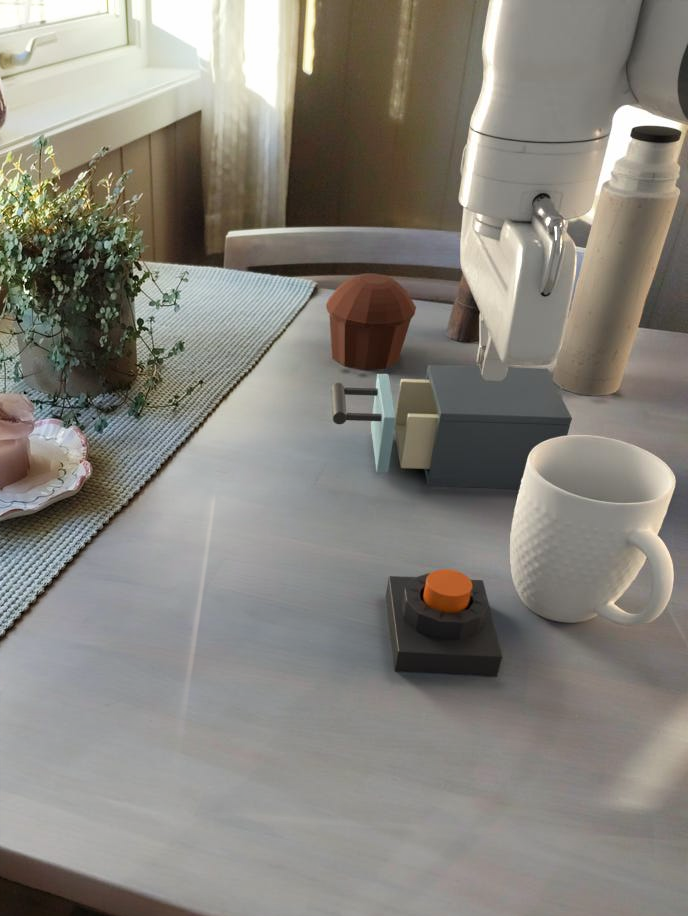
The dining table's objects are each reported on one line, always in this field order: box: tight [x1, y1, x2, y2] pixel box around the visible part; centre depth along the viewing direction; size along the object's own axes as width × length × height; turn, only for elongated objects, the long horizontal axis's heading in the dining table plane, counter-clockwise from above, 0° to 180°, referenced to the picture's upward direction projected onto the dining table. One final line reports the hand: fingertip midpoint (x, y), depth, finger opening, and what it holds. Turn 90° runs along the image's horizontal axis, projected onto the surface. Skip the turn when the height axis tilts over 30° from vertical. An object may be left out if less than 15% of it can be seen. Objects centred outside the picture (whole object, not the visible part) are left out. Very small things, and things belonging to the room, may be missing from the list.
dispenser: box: [424, 364, 573, 490], centre depth 94 cm, size 13×12×8 cm
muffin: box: [325, 272, 417, 371], centre depth 115 cm, size 12×11×10 cm
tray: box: [330, 373, 439, 474], centre depth 95 cm, size 16×10×6 cm, turn 85°
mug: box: [509, 434, 676, 627], centre depth 72 cm, size 15×11×13 cm
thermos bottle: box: [552, 125, 682, 397], centre depth 103 cm, size 8×8×28 cm
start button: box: [423, 568, 473, 613], centre depth 72 cm, size 4×4×2 cm
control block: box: [385, 572, 503, 678], centre depth 73 cm, size 8×10×4 cm
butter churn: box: [445, 273, 480, 343], centre depth 113 cm, size 9×10×28 cm
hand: (490, 373), depth 69 cm, fingers closed
